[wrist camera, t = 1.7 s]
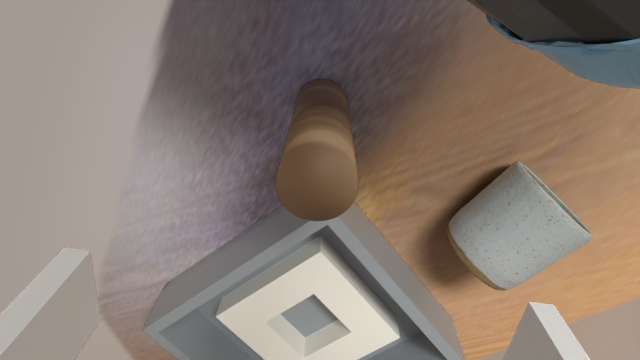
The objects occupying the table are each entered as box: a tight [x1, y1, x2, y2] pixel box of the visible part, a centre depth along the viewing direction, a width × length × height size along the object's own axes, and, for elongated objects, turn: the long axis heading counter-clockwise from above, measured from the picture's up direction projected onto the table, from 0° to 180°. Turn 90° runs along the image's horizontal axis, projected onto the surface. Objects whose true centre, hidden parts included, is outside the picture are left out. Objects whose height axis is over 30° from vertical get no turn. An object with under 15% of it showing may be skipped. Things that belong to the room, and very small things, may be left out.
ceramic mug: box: [447, 161, 593, 290], centre depth 34 cm, size 11×8×8 cm
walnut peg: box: [276, 79, 359, 221], centre depth 27 cm, size 4×4×14 cm
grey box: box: [142, 201, 466, 360], centre depth 39 cm, size 20×20×6 cm
